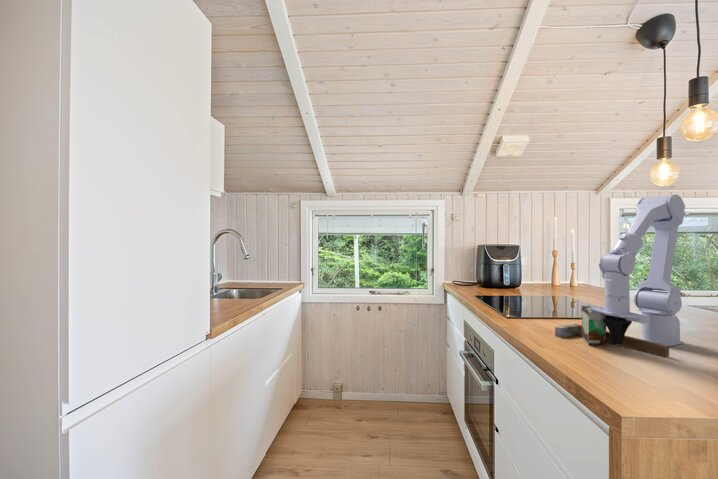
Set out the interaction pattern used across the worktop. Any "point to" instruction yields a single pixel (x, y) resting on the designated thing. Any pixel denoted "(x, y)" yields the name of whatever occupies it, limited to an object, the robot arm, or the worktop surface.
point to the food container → (593, 327)
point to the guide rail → (627, 342)
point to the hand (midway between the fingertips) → (617, 343)
